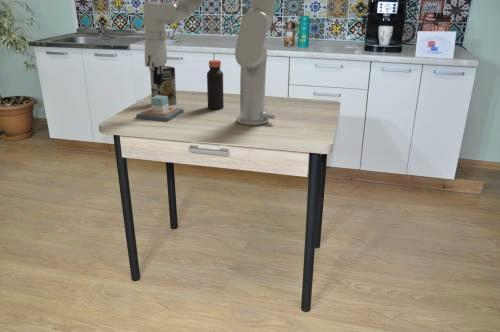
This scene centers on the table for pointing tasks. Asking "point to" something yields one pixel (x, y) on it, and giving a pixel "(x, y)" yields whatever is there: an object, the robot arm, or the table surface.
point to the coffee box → (165, 85)
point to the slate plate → (160, 114)
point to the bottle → (215, 85)
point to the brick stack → (159, 104)
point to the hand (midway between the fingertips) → (158, 83)
